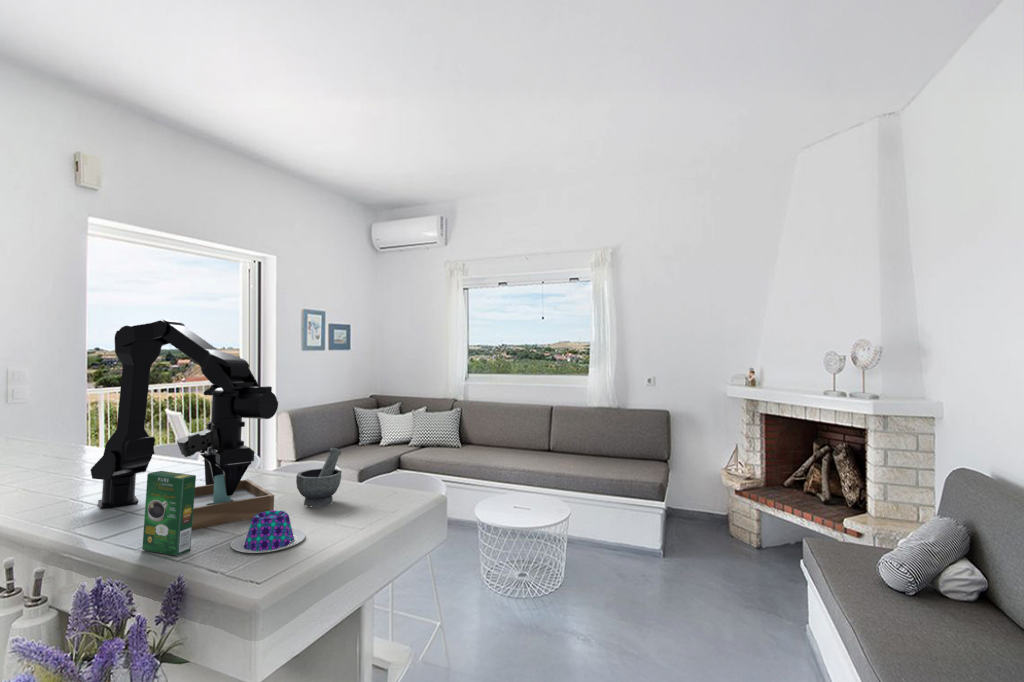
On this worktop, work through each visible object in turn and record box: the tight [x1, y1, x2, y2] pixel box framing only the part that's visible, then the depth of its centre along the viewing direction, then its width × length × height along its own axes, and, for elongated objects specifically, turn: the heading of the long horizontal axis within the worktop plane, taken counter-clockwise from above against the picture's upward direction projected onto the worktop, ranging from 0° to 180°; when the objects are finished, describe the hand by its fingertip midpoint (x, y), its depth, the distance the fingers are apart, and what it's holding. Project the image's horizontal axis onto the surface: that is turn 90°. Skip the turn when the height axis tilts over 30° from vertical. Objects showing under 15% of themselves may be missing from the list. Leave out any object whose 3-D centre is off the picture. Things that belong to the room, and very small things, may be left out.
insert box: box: [192, 478, 275, 531], centre depth 103 cm, size 18×16×4 cm
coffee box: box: [142, 470, 197, 557], centre depth 82 cm, size 8×3×13 cm, turn 75°
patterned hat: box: [230, 509, 306, 554], centre depth 86 cm, size 12×12×5 cm
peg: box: [213, 474, 231, 504], centre depth 101 cm, size 3×3×8 cm
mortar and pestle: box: [295, 447, 342, 508], centre depth 111 cm, size 11×9×12 cm
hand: (223, 490), depth 101 cm, fingers open, 9 cm apart
